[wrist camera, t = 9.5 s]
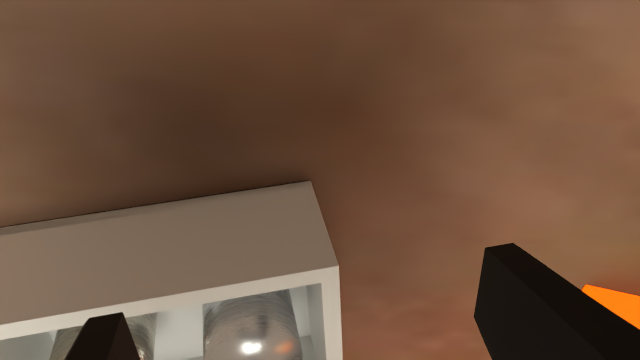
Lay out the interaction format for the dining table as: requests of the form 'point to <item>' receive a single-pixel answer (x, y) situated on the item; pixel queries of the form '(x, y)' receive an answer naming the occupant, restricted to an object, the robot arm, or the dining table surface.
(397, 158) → the dining table surface
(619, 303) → the orange juice
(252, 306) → the bushing
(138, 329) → the bushing
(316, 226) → the tub
